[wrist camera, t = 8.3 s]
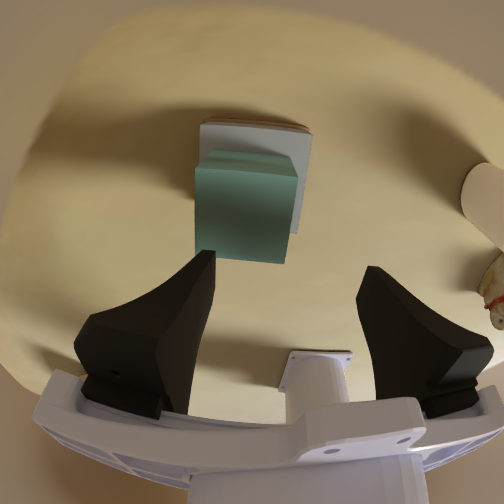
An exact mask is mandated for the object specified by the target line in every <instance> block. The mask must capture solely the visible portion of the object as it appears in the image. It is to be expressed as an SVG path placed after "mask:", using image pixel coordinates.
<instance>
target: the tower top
mask: <svg viewBox="0 0 504 504" xmlns="http://www.w3.org/2000/svg"><path fill="white" fill-rule="evenodd" d="M311 142H312V134H311V133H309V132H308V131H306V130H300V129H292V128H284V127H276V126H266V125H256V124H243V123H228V122H206V123H204V124H201V125H200V140H199V164H200V163H201V161H202V160H203V159H204V158H205V157H206V156H207V155H208V154H209V153H210V152H211V151H212V150H224V151H238V152H250V153H261V154H270V155H279V156H288V157H290V158H291V161H292V163H293V165H294V168H295V170H296V173H297V175H298V177H299V178H298V184H297V191H296V197H295V203H294V210H293V216H292V222H291V228H290V233H295V234H297V230H298V225H299V219H300V213H301V207H302V201H303V195H304V189H305V183H306V176H307V170H308V163H309V156H310V149H311Z"/></svg>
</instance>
